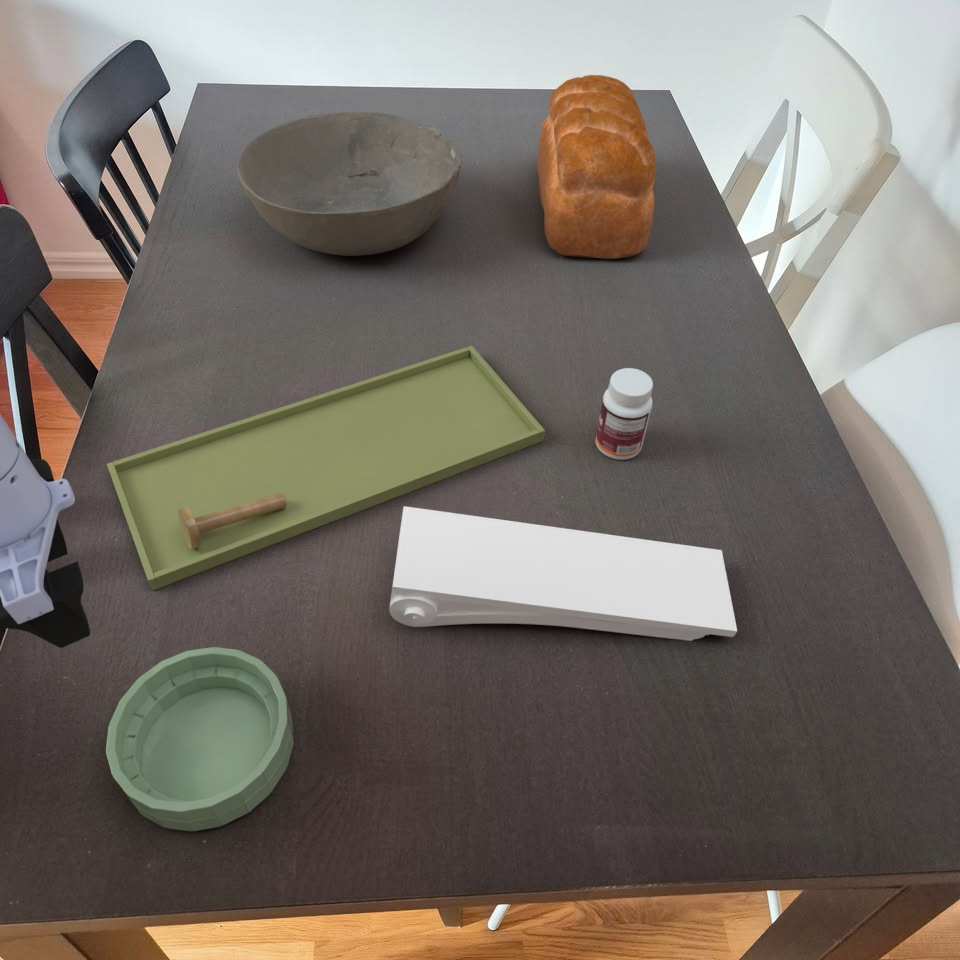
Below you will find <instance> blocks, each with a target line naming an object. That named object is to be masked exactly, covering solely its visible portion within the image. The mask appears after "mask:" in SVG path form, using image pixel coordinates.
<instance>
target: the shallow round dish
mask: <svg viewBox="0 0 960 960" xmlns="http://www.w3.org/2000/svg"><path fill="white" fill-rule="evenodd" d="M294 739H295V737H294V720H293V716H292V712H291V709H290V705H289V702H288V699H287V696H286V693H285V691H284V689H283V687H282V684H281V682H280V679H279V677H278V676H277V674H276V673H274V671H273V670H272V669H271V668H270V667H269V666H268V665H266V663H264V661H262V659H259V658H257V657H255V656H253V655H251V654H248V653H246V652H244V651H242V650H240V649H235V648H227V647H217V646H211V647H205V648H196V649H191V650H190V649H189V650H185V651H183V652H181V653H178V654H175V655H173V656H170V657H168V658H166V659H164V660H162V661H160V662H159V663H157V664H156V665H154V666H153V667H151V668H150V669H149V670H147V671H146V672H145V673H143V674H142V675H140V676H139V677H138V678H137V679H136V680H135V681H134V682H133V684H132V685H131V686H130V687H129V689H128V690H127V691H126V692H125V694H124V695H123V696H122V697H121V698H120V700H119V701H118V704H117V706H116V708H115V710H114V712H113V715H112V717H111V719H110V722H109V723H108V726H107V737H106V745H105V746H106V747H105V754H106V758H107V761H108V766H109V769H110V773H111V776H112V778H113V779H114V780H115V782H116V783H117V785H118V786H119V787H120V789H121V791H122V792H123V793H124V795H125V796H126V798H127V799H128V800H129V802H130V803H131V804H132V805H133V806H134V807H135V809H136V810H137V812H138V813H139V814H140V815H141V816H142V817H143V818H145V819H148V820H149V821H151V822H153V823H155V824H157V825H158V826H160V827H162V828H165V829H170V830H177V831H185V832H198V831H203V830H209V829H214V828H215V829H216V828H220V827H223V826H225V825H227V824H229V823H231V822H233V821H236V820H238V819H240V818H241V817H243V816H245V815H248V814H249V813H251V812H252V811H253V810H254V809H255V808H256V807H257V806H258V805H259V804H261V803H262V802H263V801H264V800H265V799H267V797H268V796H269V795H271V793H272V792H273V791H274V789H275V788H276V786H277V785H278V783H279V781H280V780H281V778H282V777H283V775H284V773H285V772H286V770H288V769H287V768H288V766H289V762H290V759H291V755H292V752H293V748H294V742H295V740H294Z"/></svg>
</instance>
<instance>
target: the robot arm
mask: <svg viewBox="0 0 960 960" xmlns="http://www.w3.org/2000/svg"><path fill="white" fill-rule="evenodd" d="M75 497H76V496H75V495H74V491H73V487H72V485H71V484H70V482H69V481H68V480H67V479H66V478H58V479H55V478H54V474H53V470H52V467H51V466H50V464H49V462H48V461H47V460H46V459H42V458H33V459H30V458H29V457H28V455H27V454H26V452H25V450H24V449H23V447H22V446H21V444H20V442H19V441H18V439H17V438H16V436H15V434H14V432H13V431H12V429H11V428H10V425H8V423H7V421H6V420H5V418H4V417H3V416H2V414H1V413H0V629H8V630H9V629H10V630H17V631H23V632H27V633H30V634H32V635H34V636H36V637H38V638H40V639H42V640H44V641H46V642H48V643H49V644H51V645H53V646H55V647H57V648H60V649H63V648H65V647H67V646H69V645H71V644H72V645H73V644H74V643H76V642H79V641H81V640H83V639H85V638H88V637H90V635H91V629H90V625H89V621H88V617H87V614H86V611H85V609H84V607H83V605H82V596H83V593H84V578H83V574H82V570H81V568H80V564H79V561H78V560H76V561H74V562H71V563H69V564H67V565H64V566H62V567H59V568H56V569H55V570H52V571H49V570H48V569H47V565H48V563H49V562H52V561H53V560H56V559H60V558H62V557H65V556H67V555H68V548H67V542H66V540H65V536H64V534H63V530H62V527H61V525H60V522H59V519H58V517H59V513H61V512H62V511H63V510H65V509H68V508H70V507H71V506H73V505H74V504H75V501H76V498H75Z"/></svg>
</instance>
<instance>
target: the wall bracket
mask: <svg viewBox="0 0 960 960" xmlns="http://www.w3.org/2000/svg"><path fill="white" fill-rule="evenodd" d="M727 575H728V574H727V571H726V565H725V561H724V556H723V550H722V549H715V548H709V547H702V546H694V545H686V544H680V543H673V542H665V541H658V540H650V539H644V538H636V537H629V536H622V535H614V534H607V533H602V532H601V533H600V532H593V531H585V530H579V529H572V528H565V527H557V526H549V525H542V524H535V523H527V522H521V521H513V520H506V519H500V518H491V517H485V516H477V515H471V514H462V513H456V512H449V511H442V510H434V509H427V508H419V507H412V506H405V505H403V508H402V515H401V521H400V528H399V536H398V542H397V550H396V557H395V564H394V572H393V579H392V586H391V594H390V600H389V608H388V611H389V615H390V616H391V617H392V619H393V620H394V621H396V622H398V623H400V624H402V625H404V626H407V627H411V628H426V627H438V626H450V625H452V626H454V625H471V624H477V625H478V624H515V625H516V624H518V625H519V624H520V625H540V626H542V625H543V626H553V627H555V626H556V627H566V628H575V629H583V630H592V631H602V632H610V633H620V634H626V635H627V634H628V635H637V636H644V637H645V636H646V637H654V638H663V639H670V640H671V639H672V640H678V641H679V640H681V641H688V642H689V641H690V642H693V641H694V640H698V639H699V640H700V639H701V638H704V637H705V636H710V635H714V636H722V637H728V638H729V637H730V638H734V637H735V635H736V634H737V632H738V628H737V627H738V626H737V623H736V617H735V611H734V606H733V602H732V601H733V600H732V597H731V591H730V586H729V580H728V576H727Z"/></svg>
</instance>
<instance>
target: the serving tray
mask: <svg viewBox="0 0 960 960" xmlns="http://www.w3.org/2000/svg"><path fill="white" fill-rule="evenodd" d="M545 435H546V430H545V428H544V427H543V426H542V425H541V424H540V423H539V421H537V419H536V418H535V417H534V416H533V414H531V412H530V411H529V410H528V408H526V406H525V404H523V403H522V402H521V401H520V400H519V398H518V397H517V396H516V395H515V393H514V392H513V391H512V390H511V389H510V388H509V387H508V385H507V384H506V383H505V382H504V381H503V380H502V379H501V377H500V376H499V375H498V374H497V373H496V371H495V370H494V369H493V368H492V367H491V366H490V364H488V362H487V361H486V360H485V359H484V358H483V356H482V355H481V353H479V352H478V350H476V348H475V347H474V345H469V346H466V347H462V348H459V349H456V350H453V351H451V352H447V353H445V354H441V355H438V356H434V357H432V358H428V359H426V360H423V361H419V362H417V363H413V364H410V365H407V366H404V367H400V368H398V369H394V370H392V371H389V372H386V373H382V374H379V375H377V376H373V377H370V378H367V379H364V380H361V381H358V382H355V383H352V384H349V385H346V386H342V387H340V388H336V389H333V390H329V391H327V392H324V393H321V394H317V395H314V396H312V397H308V398H306V399H302V400H299V401H296V402H292V403H290V404H287V405H284V406H281V407H278V408H275V409H272V410H268V411H265V412H262V413H259V414H255V415H252V416H250V417H247V418H244V419H240V420H237V421H235V422H231V423H228V424H224V425H222V426H219V427H216V428H212V429H211V430H207V431H204V432H200V433H197V434H193V435H191V436H188V437H185V438H182V439H179V440H176V441H173V442H169V443H166V444H164V445H160V446H157V447H154V448H151V449H148V450H145V451H142V452H138V453H136V454H133V455H129V456H127V457H123V458H121V459H118V460H113V461H111V462H108V463H106V466H107V469H108V472H109V475H110V477H111V480H112V483H113V486H114V488H115V491H116V494H117V497H118V500H119V502H120V503H119V504H120V506H121V509H122V511H123V514H124V517H125V520H126V522H127V525H128V529H129V531H130V533H131V536H132V537H131V538H132V539H133V543H134V545H135V548H136V551H137V553H138V556H139V560H140V562H141V565H142V568H143V570H144V574H145V576H146V579H147V581H148V584H149V586H150V588H151V591H155V590H158V589H160V588H163V587H166V586H169V585H171V584H173V583H176V582H179V581H181V580H185V579H187V578H189V577H192V576H194V575H198V574H200V573H202V572H205V571H208V570H210V569H213V568H215V567H218V566H220V565H223V564H227V563H229V562H232V561H234V560H236V559H239V558H242V557H244V556H247V555H249V554H252V553H255V552H258V551H261V550H262V549H265V548H268V547H270V546H274V545H275V544H279V543H281V542H283V541H286V540H289V539H291V538H293V537H297V536H299V535H301V534H302V535H303V534H305V533H307V532H310V531H312V530H314V529H317V528H320V527H322V526H326V525H327V524H330V523H333V522H336V521H339V520H341V519H343V518H346V517H349V516H351V515H354V514H357V513H359V512H362V511H365V510H367V509H369V508H372V507H376V506H377V505H380V504H383V503H385V502H388V501H390V500H393V499H395V498H399V497H401V496H403V495H406V494H409V493H411V492H414V491H416V490H419V489H423V488H425V487H427V486H430V485H433V484H434V483H438V482H440V481H442V480H446V479H447V478H448V479H449V478H450V477H454V476H456V475H458V474H462V473H464V472H467V471H468V470H471V469H474V468H476V467H477V468H478V467H479V466H481V465H484V464H487V463H489V462H493V461H494V460H498V459H500V458H503V457H505V456H508V455H511V454H514V453H516V452H519V451H521V450H523V449H526V448H529V447H531V446H533V445H534V446H535V445H537V444H539V443H542V442H544V441H545ZM280 493H282V494H283V495H284V497H285V500H286V505H287V506H286V508H283V509H280V510H276V511H273V512H270V513H266V514H263V515H260V516H256V517H253V518H250V519H246V520H243V521H239V522H236V523H233V524H229V525H226V526H223V527H219V528H216V529H213V530H209V531H206V532H203V533H199V535H200V541H201V545H200V547H197V548H194V549H190V548H189V547H188V545H187V543H186V540H185V538H184V535H183V532H182V529H181V526H180V522H179V517H178V510H179V509H182V508H186V507H189V509H190V510H191V512H192V514H193V516H194V518H197V517H200V516H204V515H207V514H211V513H214V512H218V511H221V510H224V509H228V508H231V507H235V506H238V505H242V504H245V503H249V502H252V501H256V500H259V499H262V498H266V497H269V496H273V495H276V494H280Z"/></svg>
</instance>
